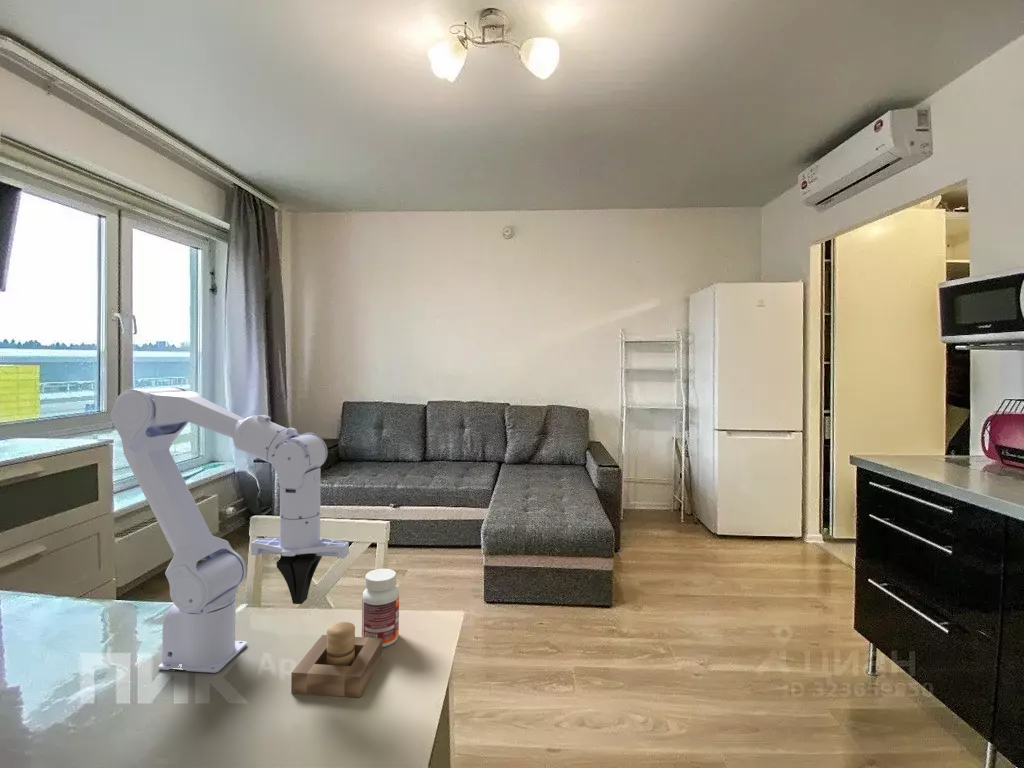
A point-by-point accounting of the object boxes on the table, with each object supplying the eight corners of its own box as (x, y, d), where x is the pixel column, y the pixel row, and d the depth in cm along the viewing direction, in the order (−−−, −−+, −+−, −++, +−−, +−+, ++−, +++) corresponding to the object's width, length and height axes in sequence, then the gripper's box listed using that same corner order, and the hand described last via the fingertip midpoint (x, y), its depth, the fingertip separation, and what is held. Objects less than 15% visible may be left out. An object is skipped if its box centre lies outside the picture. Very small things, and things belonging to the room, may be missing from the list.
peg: (321, 681, 74) (322, 635, 74) (333, 665, 78) (334, 621, 78) (347, 683, 73) (348, 637, 73) (358, 667, 78) (359, 623, 77)
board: (291, 693, 71) (291, 672, 71) (322, 652, 81) (322, 634, 81) (359, 697, 70) (360, 676, 70) (382, 656, 80) (382, 638, 80)
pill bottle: (403, 642, 85) (405, 577, 84) (367, 653, 81) (369, 585, 81) (391, 626, 90) (392, 564, 89) (356, 635, 86) (357, 571, 86)
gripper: (238, 520, 73) (239, 611, 73) (335, 523, 72) (335, 616, 72) (265, 506, 80) (265, 590, 80) (354, 509, 79) (353, 594, 79)
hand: (300, 601), depth 77 cm, fingers closed
